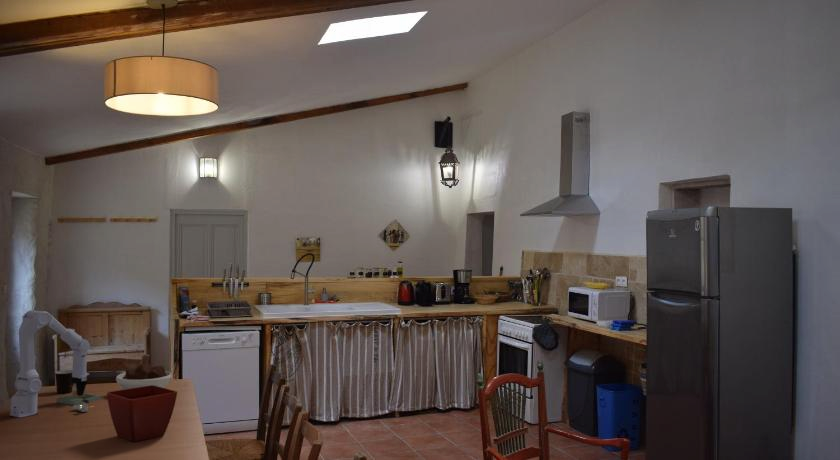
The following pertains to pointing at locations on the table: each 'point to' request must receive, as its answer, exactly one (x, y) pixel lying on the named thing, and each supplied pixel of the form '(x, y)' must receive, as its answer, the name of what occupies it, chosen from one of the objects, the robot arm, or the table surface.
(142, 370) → the white bowl of food
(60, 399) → the tray
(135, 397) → the plant pot
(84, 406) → the crank
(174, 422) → the table surface
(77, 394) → the wooden block
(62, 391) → the coffee mug
